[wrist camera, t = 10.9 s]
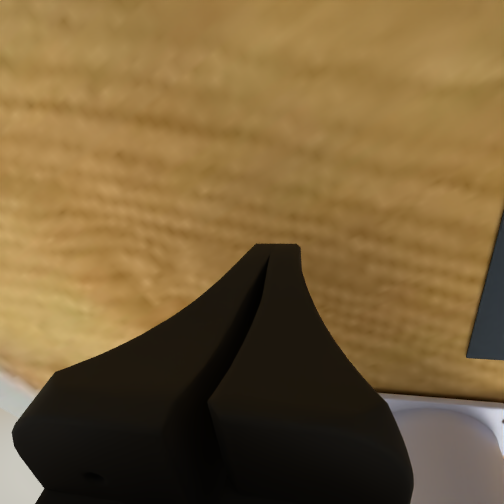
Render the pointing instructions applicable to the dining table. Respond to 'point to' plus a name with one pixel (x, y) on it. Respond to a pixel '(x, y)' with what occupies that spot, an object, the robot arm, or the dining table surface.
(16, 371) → the dining table surface
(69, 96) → the dining table surface
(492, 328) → the mat
